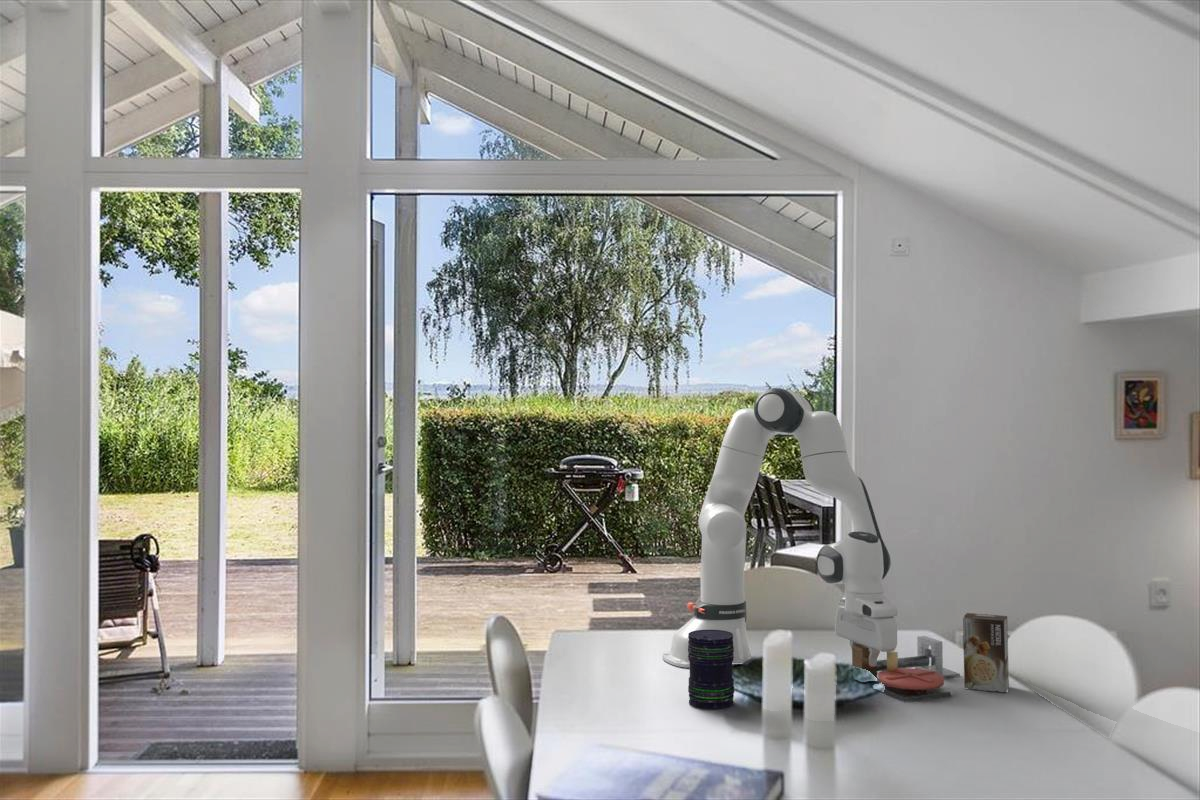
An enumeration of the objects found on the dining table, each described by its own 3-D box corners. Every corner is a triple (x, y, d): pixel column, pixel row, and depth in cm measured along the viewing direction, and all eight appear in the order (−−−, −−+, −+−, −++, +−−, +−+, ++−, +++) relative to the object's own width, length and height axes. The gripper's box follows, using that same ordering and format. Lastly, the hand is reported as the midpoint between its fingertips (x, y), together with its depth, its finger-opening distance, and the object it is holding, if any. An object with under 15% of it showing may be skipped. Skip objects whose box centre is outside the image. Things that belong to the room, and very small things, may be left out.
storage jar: (700, 695, 241) (700, 627, 241) (741, 701, 236) (741, 632, 236) (680, 706, 232) (679, 636, 232) (722, 712, 227) (721, 641, 227)
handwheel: (864, 682, 245) (864, 654, 245) (912, 674, 251) (912, 648, 251) (908, 697, 232) (908, 668, 232) (957, 689, 239) (957, 661, 239)
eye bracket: (938, 678, 253) (938, 643, 253) (914, 669, 262) (914, 635, 262) (959, 676, 255) (959, 641, 255) (935, 667, 264) (935, 633, 264)
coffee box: (1010, 686, 246) (1009, 615, 246) (1006, 693, 240) (1005, 620, 240) (967, 682, 250) (967, 612, 250) (962, 688, 244) (962, 617, 244)
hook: (862, 682, 249) (861, 648, 249) (852, 678, 253) (852, 644, 253) (935, 674, 256) (935, 641, 256) (925, 670, 260) (924, 637, 260)
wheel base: (904, 701, 234) (904, 695, 234) (872, 688, 245) (872, 682, 245) (950, 696, 238) (950, 690, 238) (917, 683, 249) (917, 677, 249)
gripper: (828, 596, 260) (828, 654, 260) (878, 611, 241) (878, 674, 241) (850, 595, 263) (851, 652, 263) (902, 609, 243) (902, 671, 243)
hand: (864, 663), depth 252 cm, fingers closed on hook, 4 cm apart
